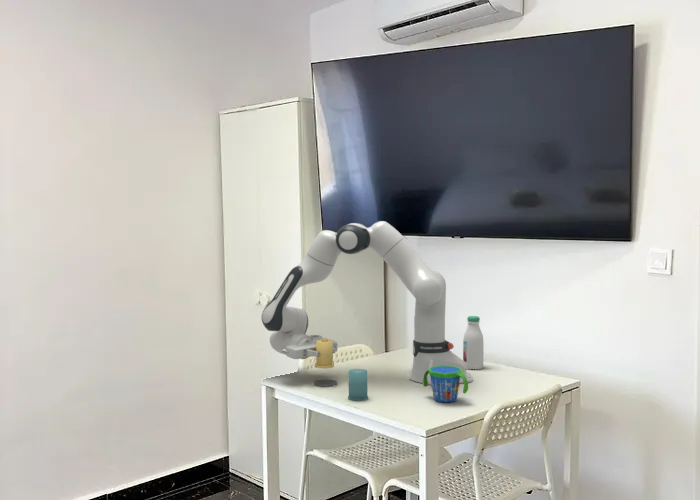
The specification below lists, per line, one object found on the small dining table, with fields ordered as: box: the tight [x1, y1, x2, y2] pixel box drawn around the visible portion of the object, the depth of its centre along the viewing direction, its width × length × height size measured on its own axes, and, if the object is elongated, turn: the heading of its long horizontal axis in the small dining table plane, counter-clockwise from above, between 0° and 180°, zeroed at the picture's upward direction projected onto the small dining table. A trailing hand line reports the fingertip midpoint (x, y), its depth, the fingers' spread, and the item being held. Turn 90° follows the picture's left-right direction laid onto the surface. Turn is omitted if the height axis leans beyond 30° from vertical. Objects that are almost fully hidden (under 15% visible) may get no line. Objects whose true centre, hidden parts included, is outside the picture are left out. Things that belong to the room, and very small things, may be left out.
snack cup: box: [422, 366, 469, 403], centre depth 226 cm, size 16×10×10 cm
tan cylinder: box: [314, 338, 335, 370], centre depth 247 cm, size 7×7×10 cm
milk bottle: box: [462, 315, 484, 371], centre depth 269 cm, size 8×8×20 cm
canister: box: [347, 368, 369, 402], centre depth 229 cm, size 7×7×9 cm
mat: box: [313, 378, 338, 388], centre depth 248 cm, size 8×8×1 cm
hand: (326, 352), depth 246 cm, fingers closed on tan cylinder, 6 cm apart
